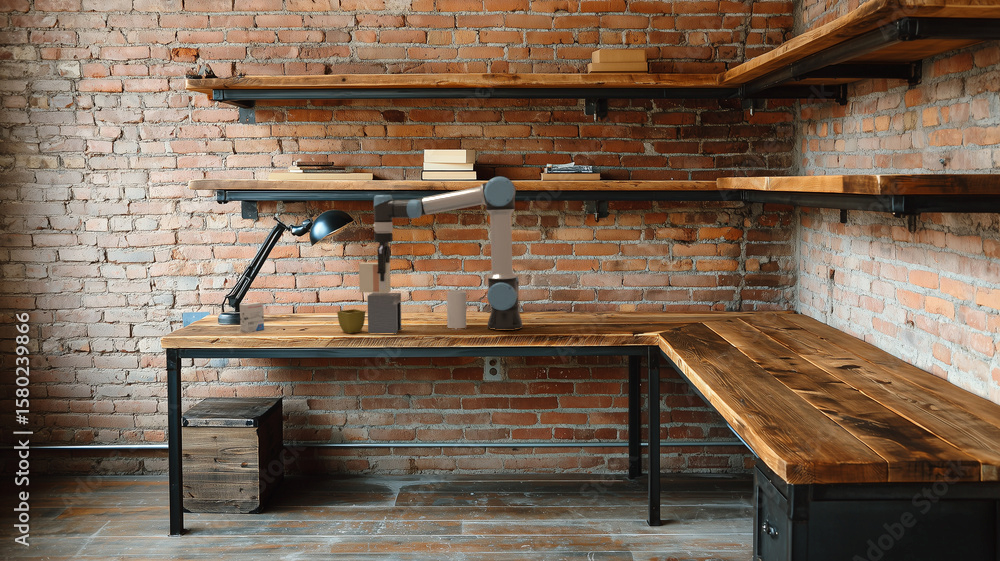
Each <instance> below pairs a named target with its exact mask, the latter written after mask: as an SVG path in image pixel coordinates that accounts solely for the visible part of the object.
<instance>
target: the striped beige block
mask: <svg viewBox="0 0 1000 561" xmlns="http://www.w3.org/2000/svg"><path fill="white" fill-rule="evenodd" d="M390 270H391V262H390V263H386V269H385V271H386V289H380V286H379V273H377V272H378V262H360V263H358V273H359V274H358V276H359V277H358V278H359V281H358V282H359V283H358V284H359V293H391V290H392V289H391V272H390Z"/></svg>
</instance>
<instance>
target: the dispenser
mask: <svg viewBox="0 0 1000 561" xmlns="http://www.w3.org/2000/svg"><path fill="white" fill-rule="evenodd" d="M398 330H401V331H402V293H401V292H388V293H373V292H371V293H370V294H368V295H367V331H368V332H367V334H368V333H396V334H395V335H398V334H399V333H398V332H399V331H398ZM397 333H398V334H397Z"/></svg>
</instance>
